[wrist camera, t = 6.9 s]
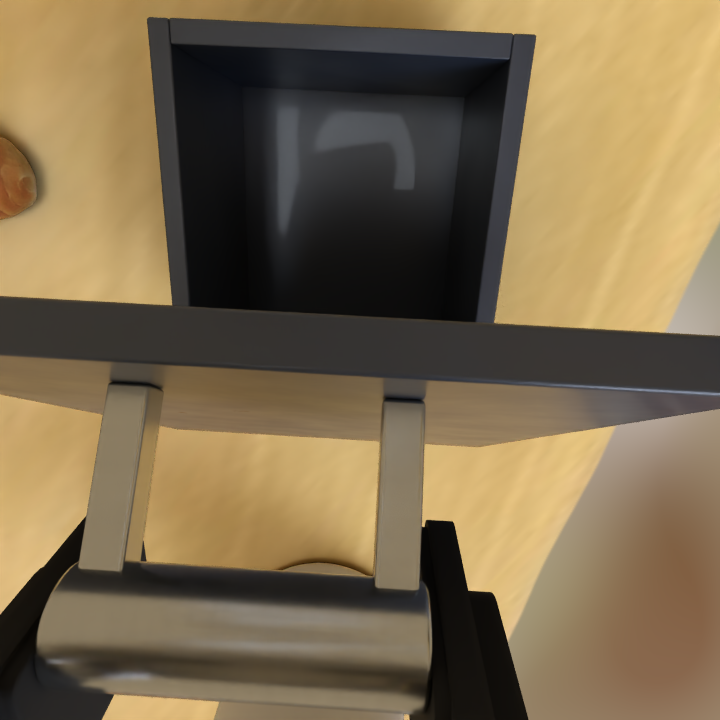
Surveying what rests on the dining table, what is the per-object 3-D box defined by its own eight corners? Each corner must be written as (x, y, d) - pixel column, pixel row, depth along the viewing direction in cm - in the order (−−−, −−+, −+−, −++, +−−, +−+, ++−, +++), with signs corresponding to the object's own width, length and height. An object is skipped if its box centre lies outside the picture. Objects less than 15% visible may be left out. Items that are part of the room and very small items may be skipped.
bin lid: (-270, 279, 7) (-428, 746, 5) (777, 337, 6) (834, 835, 5) (178, 411, 23) (162, 536, 22) (480, 429, 23) (478, 556, 21)
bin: (231, 72, 28) (145, 16, 18) (479, 83, 27) (537, 34, 17) (241, 340, 33) (181, 415, 23) (447, 352, 33) (477, 433, 23)
